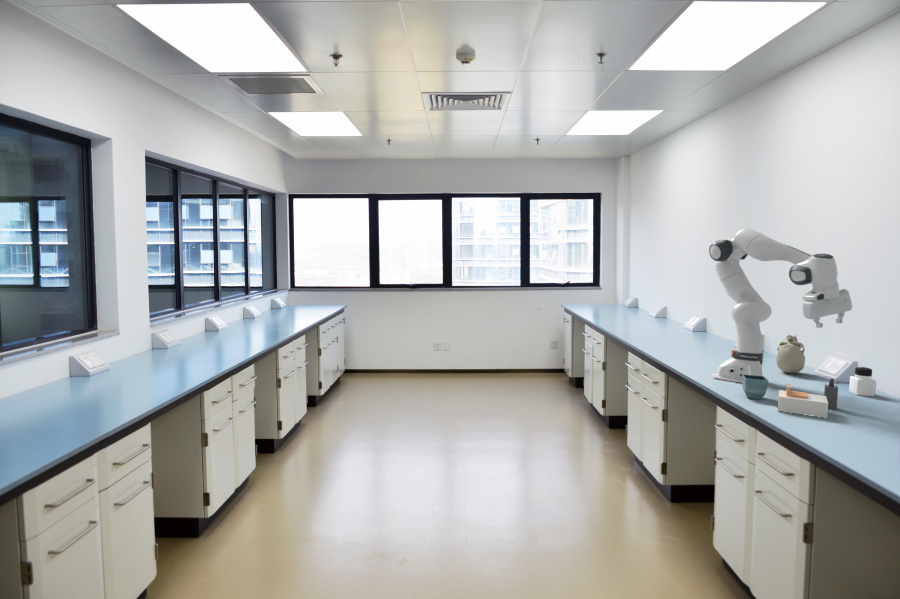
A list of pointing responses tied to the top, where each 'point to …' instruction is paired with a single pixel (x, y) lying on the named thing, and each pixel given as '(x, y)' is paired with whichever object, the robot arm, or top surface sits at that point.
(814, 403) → the socket
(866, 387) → the medicine bottle
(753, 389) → the flower pot
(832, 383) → the plug
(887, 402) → the top surface
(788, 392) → the shutter
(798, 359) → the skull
